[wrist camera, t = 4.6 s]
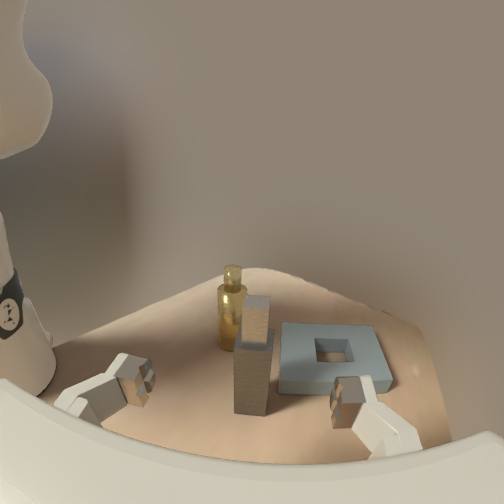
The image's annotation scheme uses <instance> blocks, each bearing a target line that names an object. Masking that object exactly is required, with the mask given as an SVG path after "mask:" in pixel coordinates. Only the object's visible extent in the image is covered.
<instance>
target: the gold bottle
mask: <svg viewBox="0 0 504 504" xmlns="http://www.w3.org/2000/svg"><path fill="white" fill-rule="evenodd" d="M241 272H242V269H241V267H240V266H238V265H227V266H225V267H224V284H222V285H220V286H219V287H218V331H219V346H220V347H221V348H222V349H223V350H226V351H230V352H234V345H235V341H236V337H237V333H238V330H239V327H242V306H243V303H244V299H245V295H247V288H246V287H245V286H244V285H242V284H241Z"/></svg>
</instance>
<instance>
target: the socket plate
mask: <svg viewBox="0 0 504 504" xmlns="http://www.w3.org/2000/svg"><path fill="white" fill-rule="evenodd" d="M316 352H345V355H346V360H347V362H317V357H316ZM364 375H370V376H371V379H372V382H373V385H374V388H375V392H376V394H377V393H387V391H388V389H389V387H390V385H391V383H392V381H393V378H392V375H391V372H390V370H389V367H388V364H387V362H386V359H385V357H384V354H383V352H382V349H381V347H380V344H379V342H378V340H377V337H376V335H375V332H374V330H373V328H372V325H332V324H309V323H291V322H282V329H281V342H280V367H279V388H278V394H296V395H331V391H332V389H333V388H334V387H335V386H334V381H335V378H336V377H341V376H364Z"/></svg>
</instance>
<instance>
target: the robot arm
mask: <svg viewBox="0 0 504 504" xmlns="http://www.w3.org/2000/svg"><path fill="white" fill-rule="evenodd" d="M27 2H28V0H0V159H3V158H6V157H8V156H11V155H13V154H16V153H18V152H20V151H23V150H25V149H27V148H30V147H32V146H34V145H35V144H36V143H37V142H38V141H39V139H40V138H41V137H42V135H43V133H44V132H45V130H46V128H47V125H48V123H49V120H50V117H51V112H52V92H51V88H50V85H49V83H48V81H47V80H46V78H45V77H44V76H43V74H42V73H40V72H39V71H38V70H37V69H36V68H35V66H34V65H33V64H32V62H31V61H30V59H29V57H28V55H27V53H26V50H25V47H24V43H23V37H22V24H23V17H24V12H25V9H26V5H27ZM52 343H53V338H52V336H51V334H50V333H48V332H45V331H44V330H43V328H42V325H41V323H40V321H39V319H38V317H37V314H36V312H35V310H34V308H33V305H32V303H31V301H30V300H29V299H27V298H26V297H24V293H23V290H22V286H21V281H20V279H19V277H18V274H17V271H16V269H15V268H13V265H12V261H11V257H10V252H9V248H8V243H7V238H6V232H5V226H4V220H3V217H2V215H1V213H0V504H504V438H502V437H501V436H499V435H497V434H496V433H494V432H492V431H490V430H485V431H481V432H479V433H476V434H473V435H470V436H468V437H465V438H462V439H459V440H456V441H453V442H449V443H446V444H443V445H439V446H436V447H432V448H428V449H424V450H423V448H422V445H421V442H420V439H419V436H418V433H417V430H416V428H414V427H413V426H412V425H410V424H409V423H408V422H407V421H405V420H404V419H403V418H402V417H400V416H399V415H398V414H397V413H395V412H394V411H393V410H392V409H390V408H389V407H388V406H387V405H385V404H384V403H383V402H382V401H381V402H378V398H377V395H376V392H375V388H374V385H373V382H372V379H371V376H370V375H364V376H341V377H336V378H335V381H334V386H335V387H334V388H333V389H332V391H331V395H330V409H331V410H332V411H333V414H332V416H331V419H332V427H333V429H339V428H351V429H352V430H353V432H354V433H355V434H356V435H357V436H358V437H359V439H360V440H361V441H362V442H363V443H364V444H365V446H366V447H367V448H368V449H369V450H370V451H371V452H372V454H371V455H370V457H369V458H368V459H367V460H363V461H354V462H344V463H329V464H271V463H256V462H245V461H236V460H228V459H221V458H214V457H208V456H202V455H197V454H191V453H187V452H182V451H177V450H173V449H169V448H165V447H161V446H157V445H153V444H150V443H146V442H143V441H140V440H136V439H133V438H130V437H127V436H124V435H121V434H118V433H115V432H113V431H110V430H107V429H104V428H103V426H102V425H101V422H102V421H104V420H105V419H107V418H108V417H110V416H111V415H113V414H114V413H116V412H117V411H119V410H120V409H122V408H123V407H125V406H126V405H127V404H131V405H134V406H138V407H143V408H144V406H145V404H146V402H147V400H148V395H147V393H149V392H151V391H152V390H153V388H154V385H155V374H154V372H153V371H152V370H151V367H152V363H151V360H149V359H146V358H142V357H137V356H133V355H129V354H125V353H120V354H118V355H117V357H116V358H115V360H114V361H113V362H112V364H111V365H110V366H109V368H108V369H107V371H106V372H105V373H101V374H98V375H96V376H94V377H92V378H89V379H87V380H85V381H83V382H80V383H78V384H76V385H74V386H71V387H69V388H67V389H64V391H63V392H62V393H61V394H60V396H59V397H58V398H57V400H56V401H55V402H54V404H53V405H51V404H49V403H47V402H45V401H43V400H41V399H40V398H38V397H36V396H37V395H38V394H40V393H41V392H42V391H43V390H44V389H45V388H46V387H47V385H48V384H49V383H50V381H51V379H52V377H53V375H54V372H55V369H56V358H55V355H54V353H53V351H52Z"/></svg>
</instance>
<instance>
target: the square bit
mask: <svg viewBox="0 0 504 504" xmlns="http://www.w3.org/2000/svg"><path fill="white" fill-rule="evenodd" d="M269 309H270V296H257V295H245V299H244V303H243V306H242V327H239V330H238V333H237V337H236V341H235V345H234V413H235V414H244V415H254V416H265V413H266V405H267V397H268V388H269V379H270V371H271V362H272V352H273V339H274V329H268V321H269Z"/></svg>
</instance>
